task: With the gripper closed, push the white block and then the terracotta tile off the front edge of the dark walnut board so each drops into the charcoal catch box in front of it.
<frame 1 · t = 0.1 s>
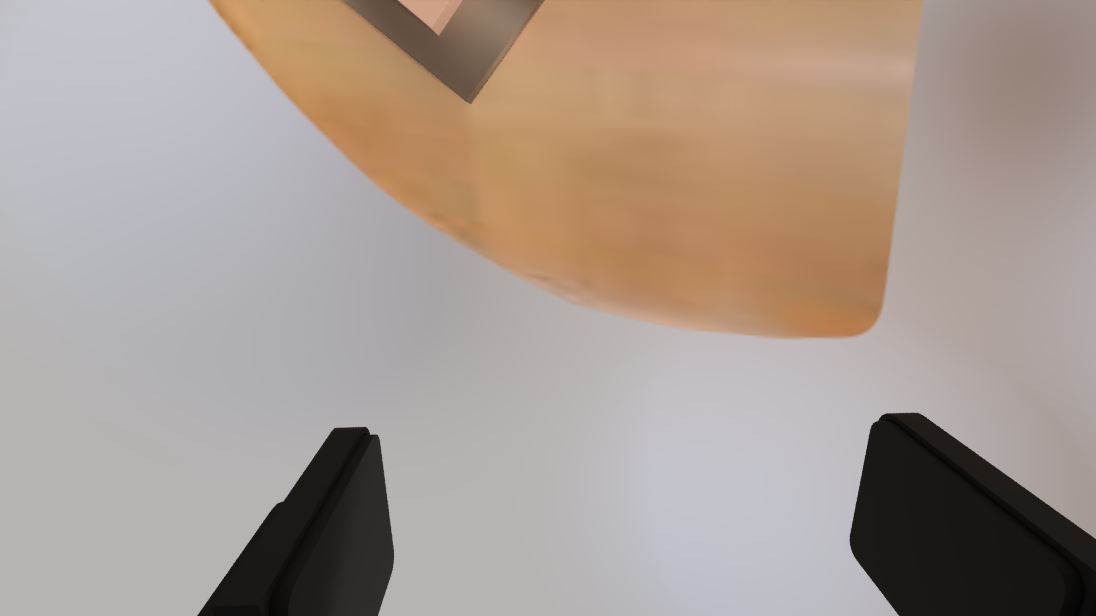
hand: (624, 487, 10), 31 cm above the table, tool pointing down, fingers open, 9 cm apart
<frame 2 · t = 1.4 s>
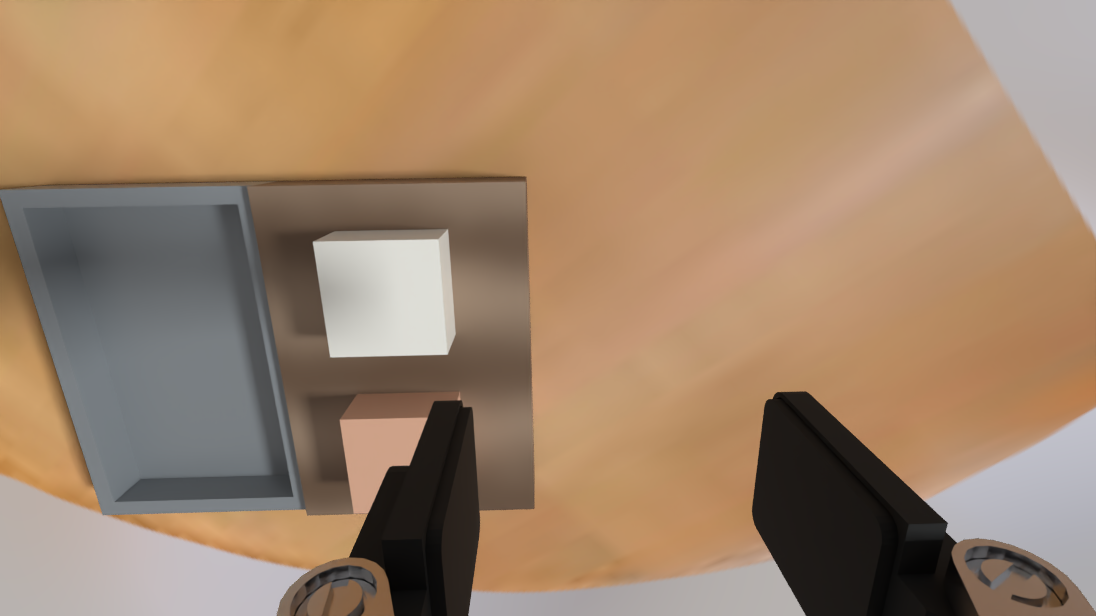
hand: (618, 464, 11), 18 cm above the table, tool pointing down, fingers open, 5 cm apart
catch box: (201, 346, 28), on the table
terracotta tile: (413, 437, 27), point 3 cm above the table, touching walnut board
white block: (397, 284, 25), point 3 cm above the table, touching walnut board
walnut board: (418, 341, 29), on the table
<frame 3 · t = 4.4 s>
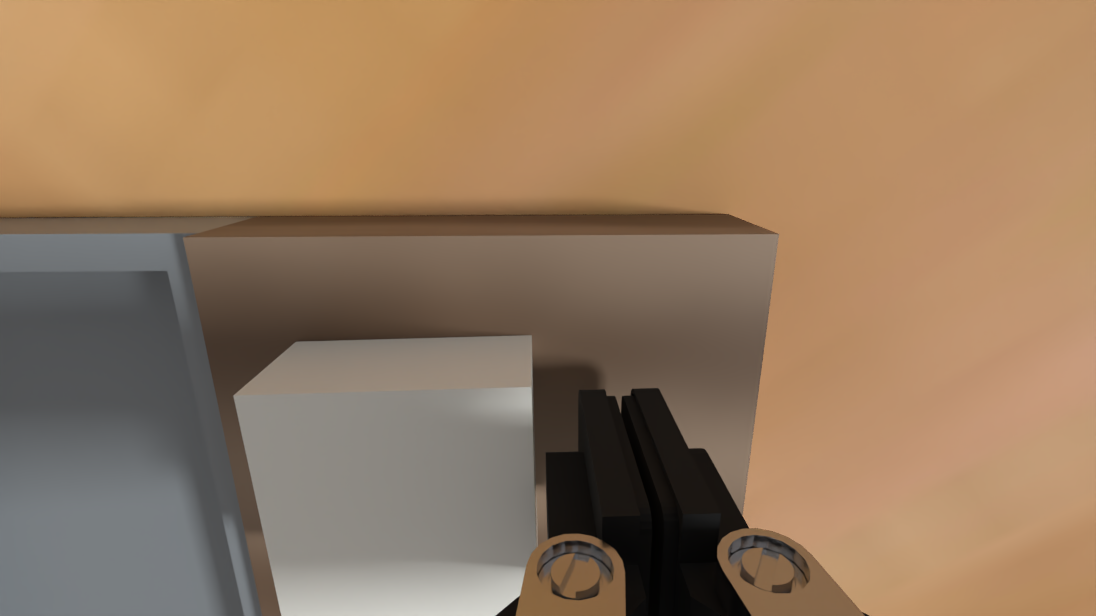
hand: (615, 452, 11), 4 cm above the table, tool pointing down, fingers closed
catch box: (118, 503, 16), on the table
white block: (424, 441, 12), point 3 cm above the table, touching gripper
walnut board: (503, 497, 16), on the table
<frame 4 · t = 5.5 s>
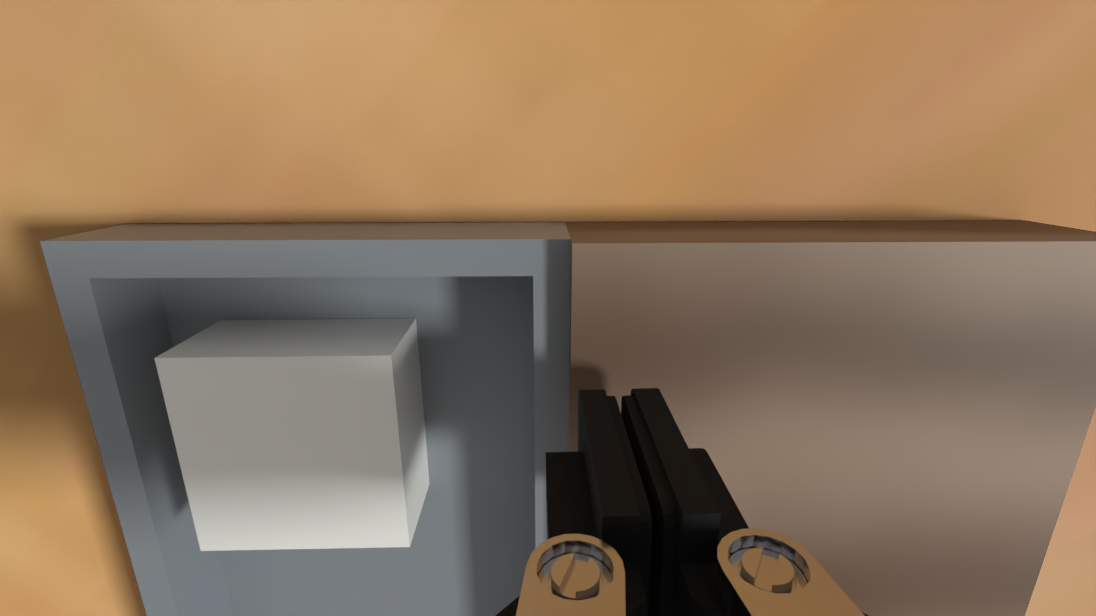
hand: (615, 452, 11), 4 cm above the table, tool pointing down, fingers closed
catch box: (379, 505, 16), on the table
white block: (290, 458, 12), point 3 cm above the table, tilted 180°, touching catch box
walnut board: (758, 500, 16), on the table
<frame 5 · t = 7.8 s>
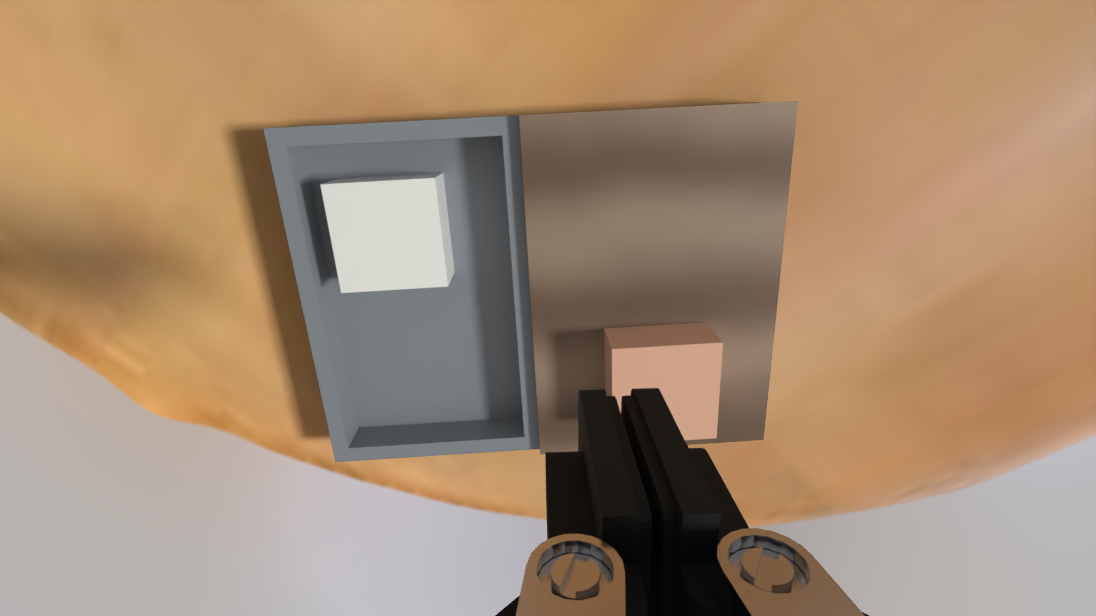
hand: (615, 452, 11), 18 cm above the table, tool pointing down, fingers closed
catch box: (426, 291, 28), on the table
terracotta tile: (653, 371, 27), point 3 cm above the table, touching walnut board
white block: (386, 237, 24), point 3 cm above the table, tilted 180°, touching catch box
walnut board: (642, 278, 29), on the table
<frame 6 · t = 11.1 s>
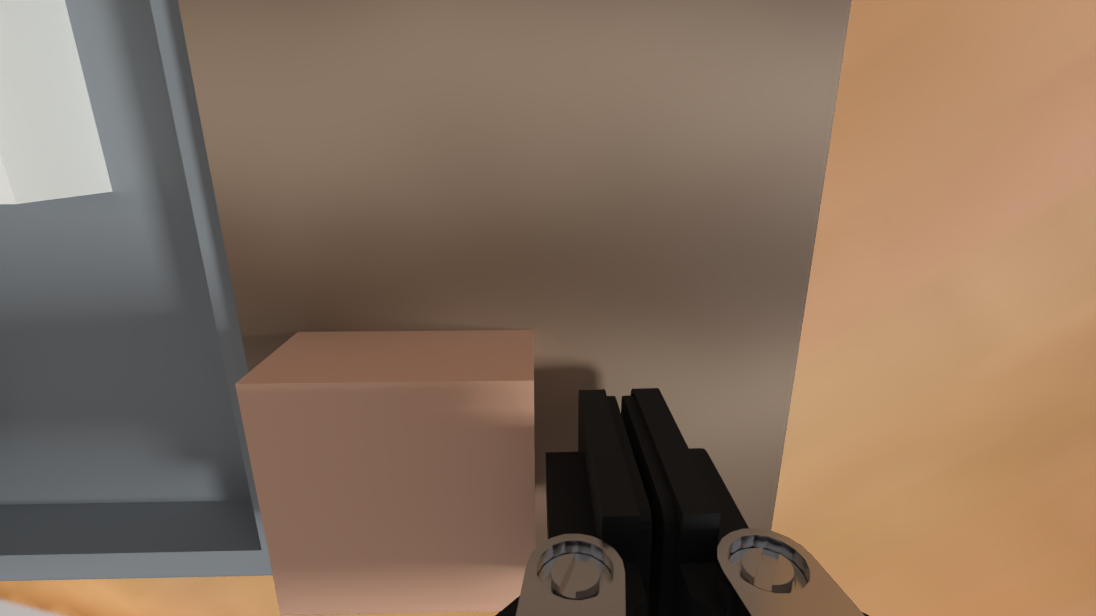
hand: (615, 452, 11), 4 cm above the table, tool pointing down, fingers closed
catch box: (71, 234, 14), on the table
terracotta tile: (424, 434, 12), point 3 cm above the table, touching gripper
walnut board: (525, 231, 14), on the table
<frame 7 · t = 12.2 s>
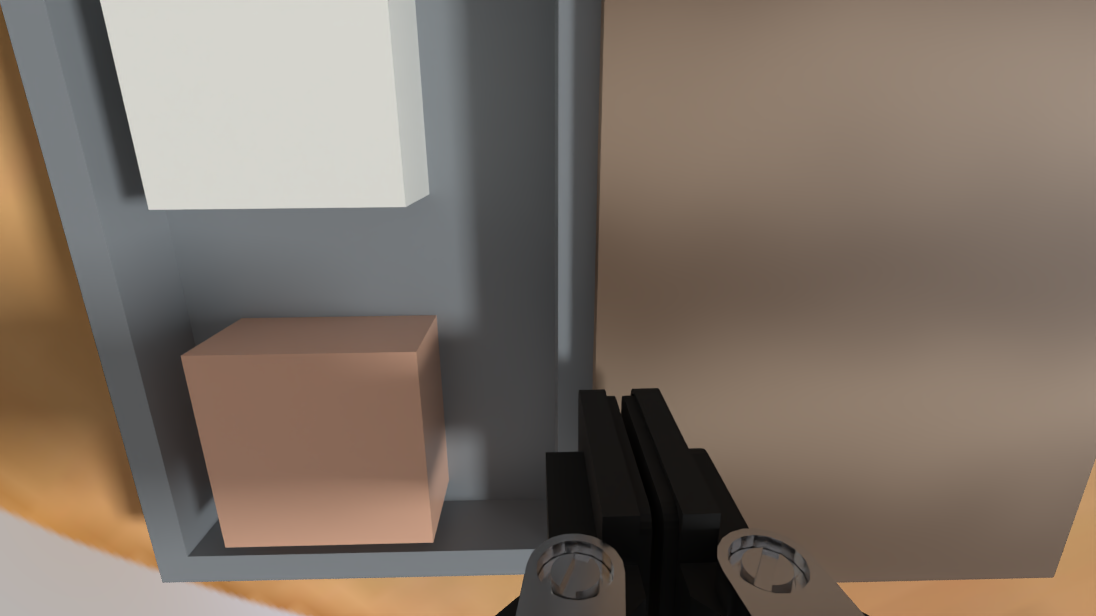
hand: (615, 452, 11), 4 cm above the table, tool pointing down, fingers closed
catch box: (370, 236, 14), on the table
terracotta tile: (315, 455, 12), point 3 cm above the table, tilted 180°, touching catch box
white block: (255, 70, 10), point 3 cm above the table, tilted 180°, touching catch box
walnut board: (814, 232, 14), on the table
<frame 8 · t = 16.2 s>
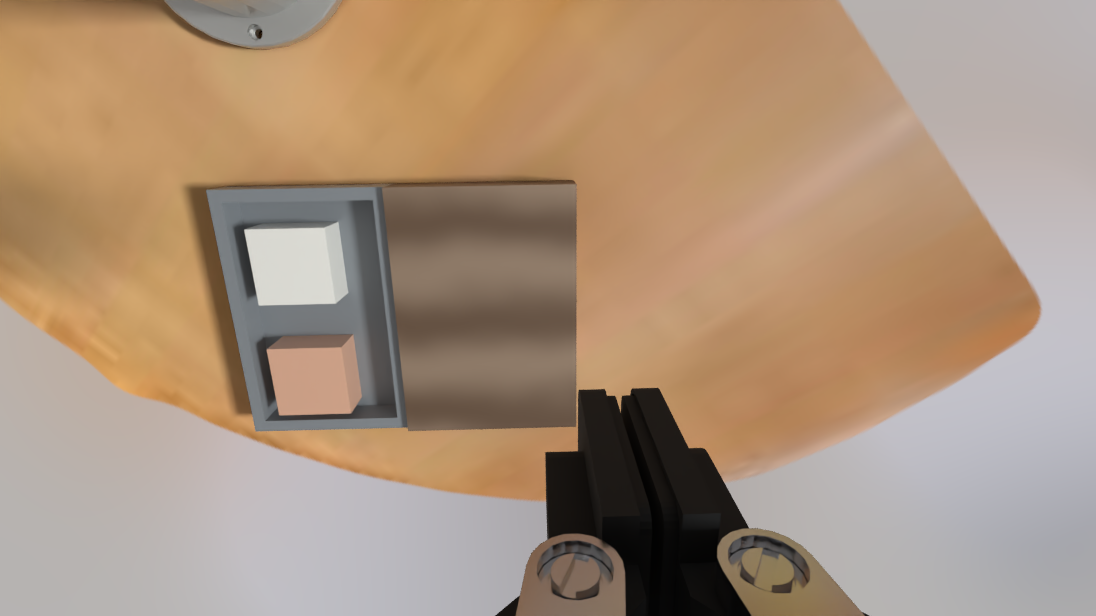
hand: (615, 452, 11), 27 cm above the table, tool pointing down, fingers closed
catch box: (329, 306, 38), on the table
terracotta tile: (309, 382, 37), point 3 cm above the table, tilted 180°, touching catch box
white block: (290, 267, 34), point 3 cm above the table, tilted 180°, touching catch box
walnut board: (489, 302, 39), on the table
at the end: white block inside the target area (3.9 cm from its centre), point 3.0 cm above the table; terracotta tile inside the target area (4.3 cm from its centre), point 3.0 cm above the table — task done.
